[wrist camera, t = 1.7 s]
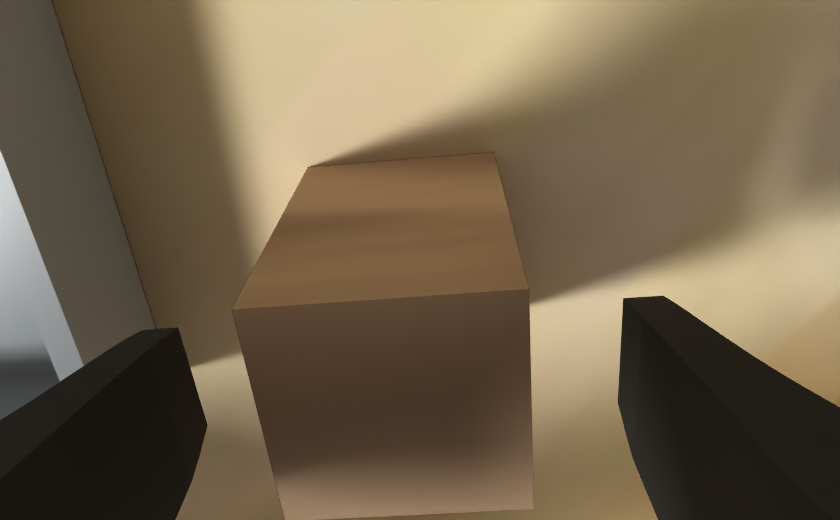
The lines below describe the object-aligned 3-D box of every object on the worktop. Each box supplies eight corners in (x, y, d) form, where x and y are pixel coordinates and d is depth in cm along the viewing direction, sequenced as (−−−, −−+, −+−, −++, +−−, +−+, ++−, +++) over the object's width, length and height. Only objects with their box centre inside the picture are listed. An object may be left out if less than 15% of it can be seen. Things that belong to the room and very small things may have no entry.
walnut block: (500, 313, 16) (533, 509, 10) (335, 324, 16) (285, 521, 11) (493, 151, 14) (529, 288, 9) (308, 167, 14) (231, 309, 9)
